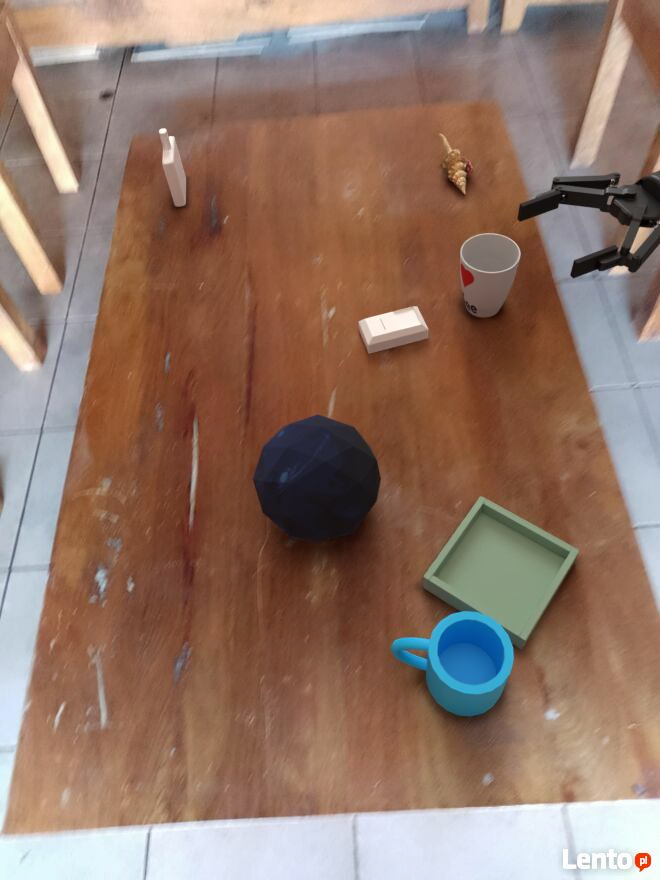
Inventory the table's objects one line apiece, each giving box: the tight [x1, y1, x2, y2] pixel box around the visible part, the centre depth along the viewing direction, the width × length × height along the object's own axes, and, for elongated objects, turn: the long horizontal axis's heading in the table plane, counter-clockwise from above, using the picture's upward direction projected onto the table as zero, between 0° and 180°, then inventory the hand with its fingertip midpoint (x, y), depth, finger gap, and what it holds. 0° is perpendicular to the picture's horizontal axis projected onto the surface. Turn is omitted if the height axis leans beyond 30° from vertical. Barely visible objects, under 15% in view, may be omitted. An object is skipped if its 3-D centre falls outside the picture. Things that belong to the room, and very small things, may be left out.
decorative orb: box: [252, 414, 382, 544], centre depth 83 cm, size 14×15×15 cm
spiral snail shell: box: [438, 133, 475, 195], centre depth 123 cm, size 14×5×4 cm, turn 30°
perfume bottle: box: [158, 127, 187, 208], centre depth 123 cm, size 8×2×12 cm, turn 6°
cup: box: [459, 232, 522, 318], centre depth 102 cm, size 8×8×10 cm
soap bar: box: [357, 305, 430, 355], centre depth 103 cm, size 5×9×3 cm, turn 105°
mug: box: [390, 611, 515, 717], centre depth 73 cm, size 12×8×8 cm
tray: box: [422, 495, 581, 651], centre depth 81 cm, size 13×13×3 cm
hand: (545, 240), depth 101 cm, fingers open, 13 cm apart
